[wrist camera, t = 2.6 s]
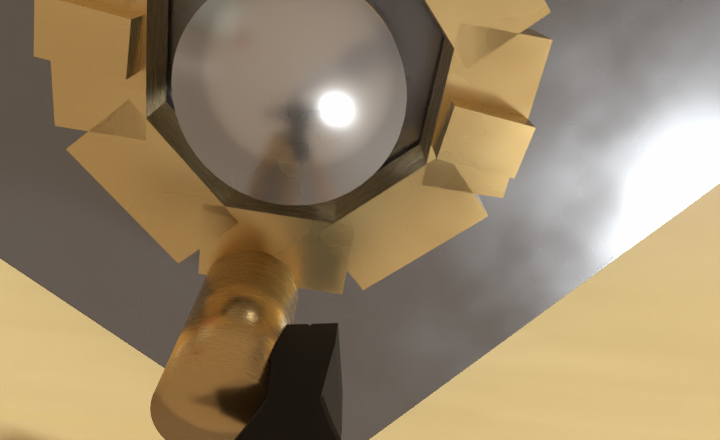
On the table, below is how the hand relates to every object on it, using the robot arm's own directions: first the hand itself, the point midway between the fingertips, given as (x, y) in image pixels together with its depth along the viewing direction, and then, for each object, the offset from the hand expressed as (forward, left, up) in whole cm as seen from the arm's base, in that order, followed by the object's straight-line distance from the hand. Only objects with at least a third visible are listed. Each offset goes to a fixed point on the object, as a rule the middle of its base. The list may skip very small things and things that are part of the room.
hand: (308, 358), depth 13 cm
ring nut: (-4, -4, -3) cm, 7 cm away
